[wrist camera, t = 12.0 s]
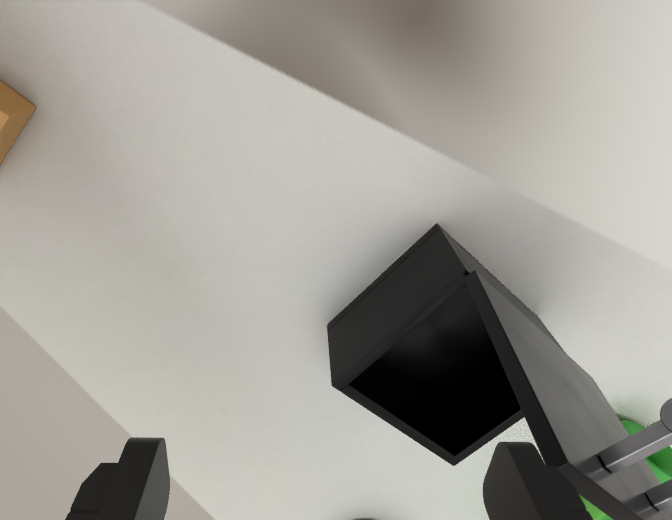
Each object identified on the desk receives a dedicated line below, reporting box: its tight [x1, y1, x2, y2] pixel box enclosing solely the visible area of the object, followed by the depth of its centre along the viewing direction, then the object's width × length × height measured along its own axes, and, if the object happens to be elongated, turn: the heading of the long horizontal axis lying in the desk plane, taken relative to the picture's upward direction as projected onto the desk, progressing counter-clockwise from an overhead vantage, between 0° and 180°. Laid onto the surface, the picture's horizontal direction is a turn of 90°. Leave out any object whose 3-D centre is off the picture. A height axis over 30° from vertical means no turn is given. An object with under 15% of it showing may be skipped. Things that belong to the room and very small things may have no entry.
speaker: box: [580, 420, 672, 520], centre depth 44 cm, size 18×7×8 cm, turn 155°
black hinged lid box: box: [327, 224, 564, 466], centre depth 34 cm, size 12×13×7 cm
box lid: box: [464, 270, 672, 520], centre depth 23 cm, size 12×13×5 cm
